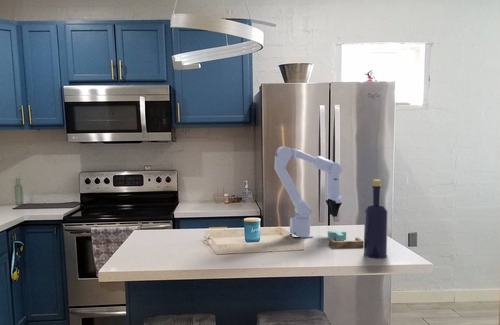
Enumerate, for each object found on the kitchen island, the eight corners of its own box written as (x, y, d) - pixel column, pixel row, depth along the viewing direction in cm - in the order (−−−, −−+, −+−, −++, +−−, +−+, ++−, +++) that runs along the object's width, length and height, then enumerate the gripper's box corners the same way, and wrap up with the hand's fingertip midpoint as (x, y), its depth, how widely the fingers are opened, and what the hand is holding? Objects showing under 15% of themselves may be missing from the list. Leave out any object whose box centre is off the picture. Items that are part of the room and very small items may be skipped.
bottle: (384, 251, 151) (385, 178, 149) (390, 258, 142) (392, 181, 140) (361, 251, 152) (362, 178, 150) (365, 258, 143) (367, 181, 141)
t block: (332, 241, 166) (332, 235, 166) (327, 237, 173) (327, 231, 173) (350, 241, 167) (350, 234, 167) (344, 237, 174) (344, 230, 174)
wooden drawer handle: (333, 247, 157) (333, 242, 156) (328, 243, 163) (328, 238, 163) (363, 247, 158) (363, 241, 158) (357, 243, 164) (358, 237, 164)
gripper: (347, 189, 170) (346, 218, 171) (336, 185, 184) (336, 212, 185) (332, 189, 169) (331, 218, 170) (323, 185, 184) (322, 212, 185)
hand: (333, 215), depth 178 cm, fingers open, 4 cm apart
